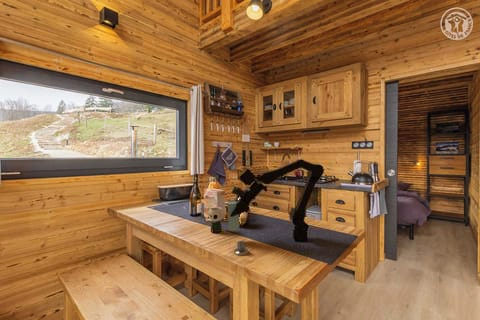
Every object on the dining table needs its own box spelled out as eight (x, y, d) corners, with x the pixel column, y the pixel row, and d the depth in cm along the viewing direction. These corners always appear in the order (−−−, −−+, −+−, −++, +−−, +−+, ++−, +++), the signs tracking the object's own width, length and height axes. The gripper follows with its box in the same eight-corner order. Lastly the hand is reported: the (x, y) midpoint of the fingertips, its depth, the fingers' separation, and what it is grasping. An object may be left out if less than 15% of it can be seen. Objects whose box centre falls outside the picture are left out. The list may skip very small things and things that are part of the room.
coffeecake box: (203, 217, 155) (203, 189, 154) (212, 215, 160) (211, 187, 159) (217, 221, 144) (216, 191, 144) (225, 219, 149) (225, 190, 149)
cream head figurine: (204, 232, 125) (204, 209, 125) (212, 228, 131) (211, 206, 131) (220, 235, 120) (220, 211, 119) (227, 231, 126) (227, 208, 126)
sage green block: (239, 226, 114) (238, 201, 113) (239, 230, 108) (239, 203, 108) (228, 227, 114) (227, 201, 113) (228, 230, 108) (227, 204, 108)
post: (244, 248, 103) (244, 238, 103) (251, 253, 97) (250, 243, 97) (231, 250, 100) (231, 241, 100) (237, 256, 94) (237, 246, 94)
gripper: (240, 178, 120) (219, 199, 120) (241, 183, 101) (217, 208, 101) (255, 192, 120) (234, 213, 120) (259, 200, 102) (235, 224, 102)
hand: (230, 214), depth 111 cm, fingers closed on sage green block, 5 cm apart
